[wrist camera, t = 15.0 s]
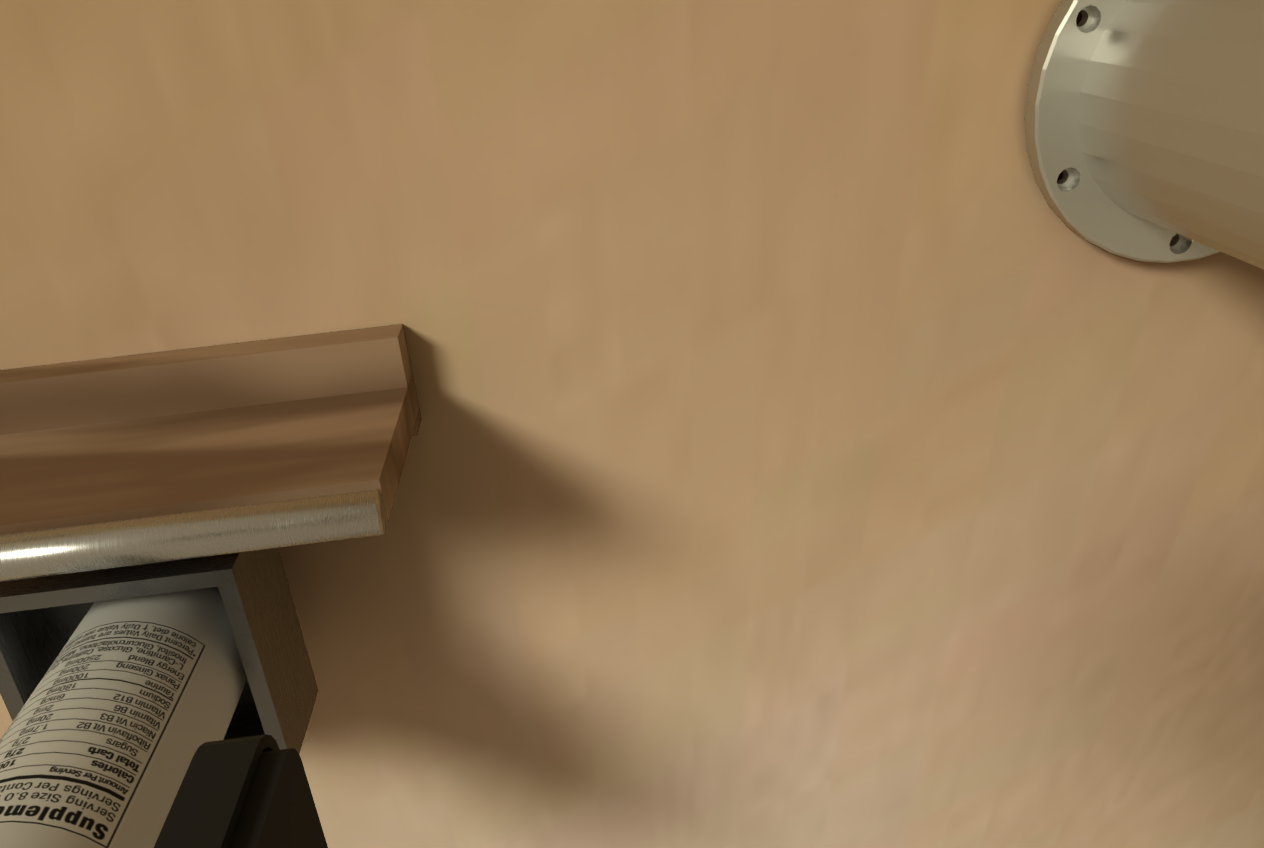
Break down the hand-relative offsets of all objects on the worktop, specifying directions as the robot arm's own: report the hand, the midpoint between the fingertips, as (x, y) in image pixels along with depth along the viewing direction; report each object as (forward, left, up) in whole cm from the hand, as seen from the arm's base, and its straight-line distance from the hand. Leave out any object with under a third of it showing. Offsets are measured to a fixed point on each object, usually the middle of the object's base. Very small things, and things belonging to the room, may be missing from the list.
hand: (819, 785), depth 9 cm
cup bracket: (+9, +20, -30) cm, 37 cm away
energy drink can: (+8, +22, -26) cm, 35 cm away
